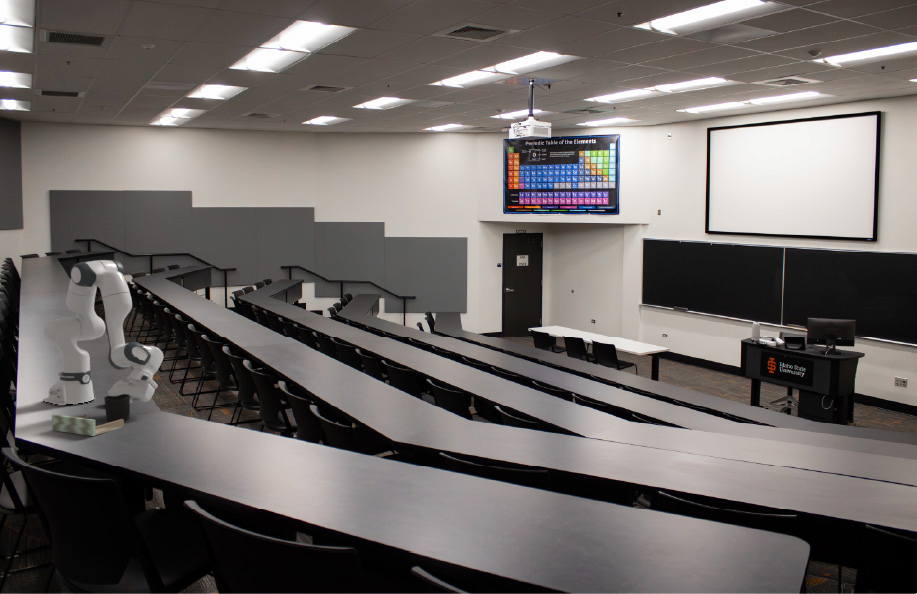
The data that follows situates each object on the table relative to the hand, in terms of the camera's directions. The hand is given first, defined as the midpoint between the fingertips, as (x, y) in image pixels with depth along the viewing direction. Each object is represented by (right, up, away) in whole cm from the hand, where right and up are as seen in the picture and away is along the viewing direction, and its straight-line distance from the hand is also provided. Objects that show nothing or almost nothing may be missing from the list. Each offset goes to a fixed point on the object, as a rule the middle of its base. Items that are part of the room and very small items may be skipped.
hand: (121, 407), depth 288 cm
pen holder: (-1, -5, -1) cm, 5 cm away
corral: (-6, -6, -14) cm, 16 cm away
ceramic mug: (-13, -3, +25) cm, 28 cm away
